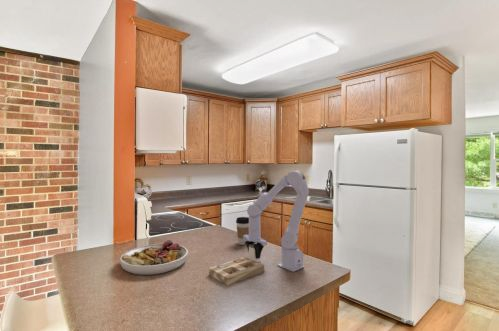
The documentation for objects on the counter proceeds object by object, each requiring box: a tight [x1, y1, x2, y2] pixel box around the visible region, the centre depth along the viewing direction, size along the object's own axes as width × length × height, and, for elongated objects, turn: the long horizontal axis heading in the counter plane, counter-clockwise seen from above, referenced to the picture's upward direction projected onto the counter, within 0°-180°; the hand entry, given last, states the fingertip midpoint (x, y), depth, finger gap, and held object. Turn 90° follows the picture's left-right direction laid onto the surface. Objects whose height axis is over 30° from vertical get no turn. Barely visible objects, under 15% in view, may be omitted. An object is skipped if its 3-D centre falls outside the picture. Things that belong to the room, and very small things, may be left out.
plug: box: [248, 242, 262, 263], centre depth 133 cm, size 4×4×8 cm
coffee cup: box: [235, 216, 249, 246], centre depth 161 cm, size 8×8×15 cm
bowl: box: [119, 239, 189, 276], centre depth 130 cm, size 30×30×8 cm
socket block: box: [208, 256, 265, 286], centre depth 119 cm, size 13×20×3 cm, turn 132°
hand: (254, 256), depth 133 cm, fingers closed on plug, 4 cm apart
